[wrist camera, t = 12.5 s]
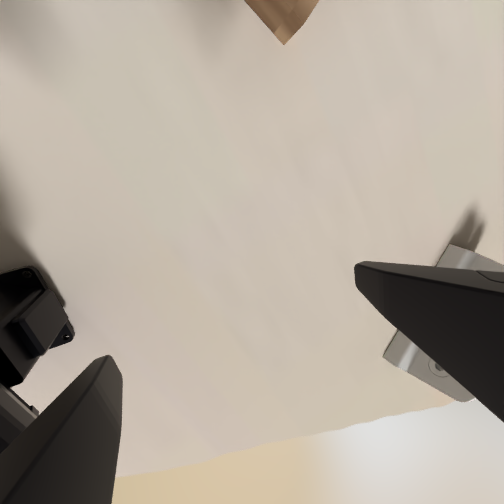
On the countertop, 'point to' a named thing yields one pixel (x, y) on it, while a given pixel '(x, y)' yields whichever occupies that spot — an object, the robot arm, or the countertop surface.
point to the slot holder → (283, 15)
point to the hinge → (413, 357)
